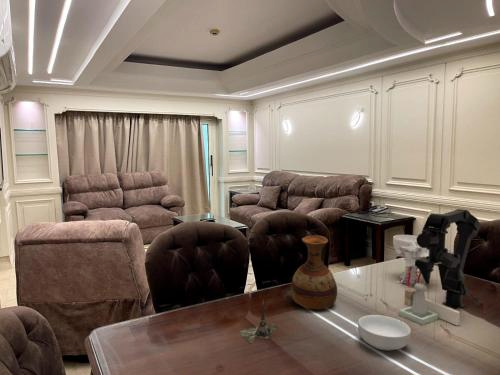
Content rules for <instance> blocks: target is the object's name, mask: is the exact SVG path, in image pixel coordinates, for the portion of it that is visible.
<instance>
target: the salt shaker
mask: <svg viewBox="0 0 500 375" xmlns="http://www.w3.org/2000/svg"><path fill="white" fill-rule="evenodd" d="M413 286H414V287H413V288H414V290H415V295H414V299H413V303H412V307H411V311H412V313H413V315H416V316H418V317H421V318H423V317H425V315H426V313H427V307H426V300H425V299H426V295H425V294H426V293H425V292H426V291H427V286H426V284H424V283H421V282H419V283H417V282H416V284H415V283H414V285H413Z"/></svg>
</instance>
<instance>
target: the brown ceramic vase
mask: <svg viewBox="0 0 500 375" xmlns="http://www.w3.org/2000/svg"><path fill="white" fill-rule="evenodd" d="M301 241H302V242H303V243H304V245H305V246H306V247H307V260H306V261H305V263H302V265H300V266H299V267H298V268H297V270H296V271H295V273H294V274H293V277H292V279H291V283H290V284H291V285H290V295H291V298H292V300H293V301H294V302H295V303H296V304H297V305H300V306H301V307H303V308H306V309H311V310H321V309H327V308H330V307H331V306H333V305H334V303H336V301H337V297H338V286H337V282H336V280H335V278H334V274H333V273H332V272H331V270H330V268H329V267H328V266H327V265H325V258H326V257H325V256H326V253H327V252H326V249H327V243H328V242H329V239H328V238H327V237H326V236H322V235H316V234H315V235H307V236H305V237H302V238H301Z"/></svg>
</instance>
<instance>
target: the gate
mask: <svg viewBox="0 0 500 375" xmlns="http://www.w3.org/2000/svg"><path fill="white" fill-rule="evenodd" d="M414 295H415V294H413V299H414ZM413 299H412V303H413ZM425 300H426V307H427V310H429V311H431V312H434V313H437V314H438V319H441V320H442V321H446V322H448V323H450V324H452V325H454V326H459V325H460V316H461V314H460V313H461V312H460V311H458V310H457V309H454V308H452V307H449V306H447V305H444V304H440V303H438V302H436V301H433V300H430V299H428V298H425Z"/></svg>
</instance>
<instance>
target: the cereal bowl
mask: <svg viewBox="0 0 500 375" xmlns="http://www.w3.org/2000/svg"><path fill="white" fill-rule="evenodd" d="M357 328H358V333H359V335H360V337H361V338H362V340H363V341H365V342H366V343H367V344H368V345H370V346H372V347H373V348H376V349H378V350H381V351H394V350H400V349H402V348H404V347H406V346H408V343H409V342H410V339H411V334H412V333H411V327H410V326H409V325H407V323H406V322H403V321H402V320H399V319H397V318H394V317H392V316H391V317H390V316H387V315H381V314H369V315H363V316H362V317H359V319H358V322H357Z"/></svg>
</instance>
